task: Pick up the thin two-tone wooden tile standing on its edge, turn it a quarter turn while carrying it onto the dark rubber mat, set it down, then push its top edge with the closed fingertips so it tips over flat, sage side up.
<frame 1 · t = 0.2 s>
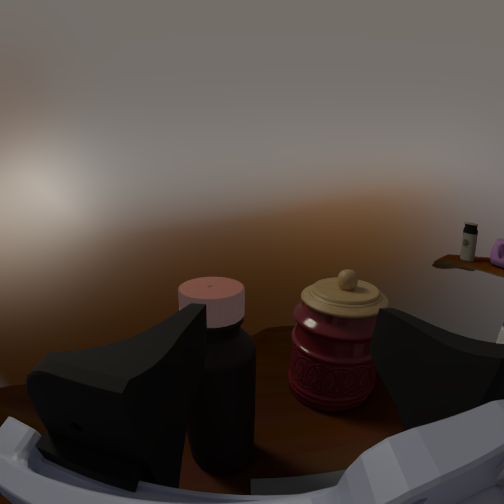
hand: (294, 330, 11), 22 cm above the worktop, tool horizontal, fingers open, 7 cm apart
travel mug: (466, 260, 108), on the worktop
canister: (330, 385, 37), on the worktop
bottle: (222, 453, 25), on the worktop
jar: (501, 379, 29), on the worktop
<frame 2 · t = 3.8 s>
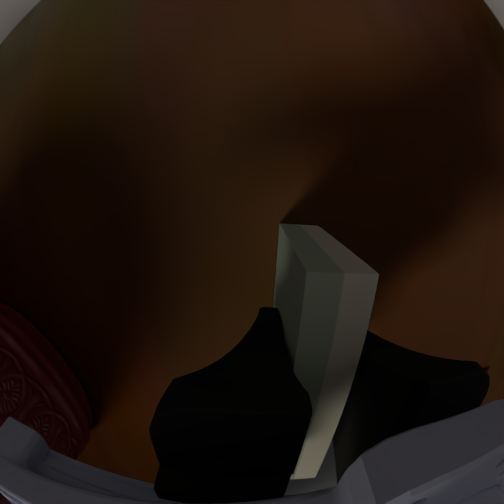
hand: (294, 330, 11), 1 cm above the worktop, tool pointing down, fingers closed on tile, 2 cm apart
canister: (28, 374, 14), on the worktop
mat: (361, 456, 16), on the worktop
tile: (290, 314, 12), on the worktop, touching gripper
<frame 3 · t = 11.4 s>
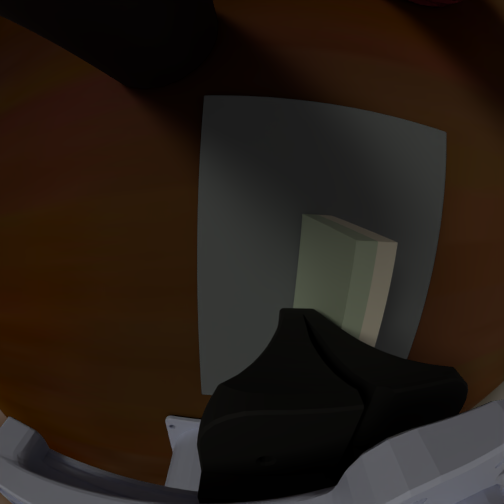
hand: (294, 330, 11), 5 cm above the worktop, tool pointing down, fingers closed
mat: (326, 271, 15), on the worktop
tile: (309, 288, 15), resting on mat, tilted 6°
bottle: (161, 41, 12), on the worktop
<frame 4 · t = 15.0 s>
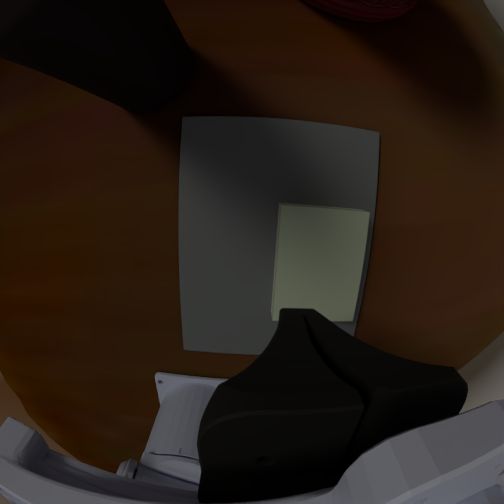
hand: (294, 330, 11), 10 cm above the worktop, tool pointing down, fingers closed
mat: (277, 246, 20), on the worktop
tile: (275, 262, 19), point 1 cm above the worktop, tilted 90°, touching mat
bottle: (151, 72, 17), on the worktop
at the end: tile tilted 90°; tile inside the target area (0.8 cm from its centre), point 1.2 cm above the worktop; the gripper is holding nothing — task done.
